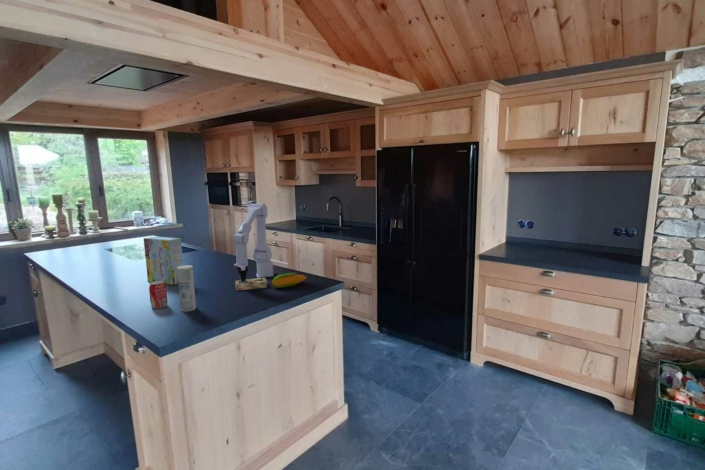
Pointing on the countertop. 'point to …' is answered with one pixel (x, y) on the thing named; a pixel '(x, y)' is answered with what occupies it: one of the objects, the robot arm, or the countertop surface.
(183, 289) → the spray can
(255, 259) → the robot arm
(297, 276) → the corn
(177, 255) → the snack box
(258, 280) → the hole block
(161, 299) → the soda can
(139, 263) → the countertop surface
